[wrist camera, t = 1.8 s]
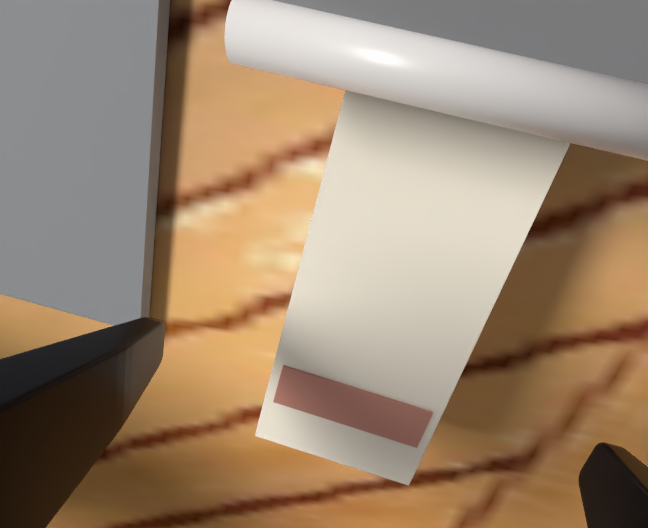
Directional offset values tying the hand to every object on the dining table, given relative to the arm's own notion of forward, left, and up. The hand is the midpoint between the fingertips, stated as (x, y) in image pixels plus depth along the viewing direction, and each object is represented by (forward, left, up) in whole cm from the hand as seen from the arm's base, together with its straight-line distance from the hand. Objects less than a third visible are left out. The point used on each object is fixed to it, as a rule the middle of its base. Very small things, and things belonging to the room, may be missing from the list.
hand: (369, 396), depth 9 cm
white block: (+3, 0, -6) cm, 6 cm away
